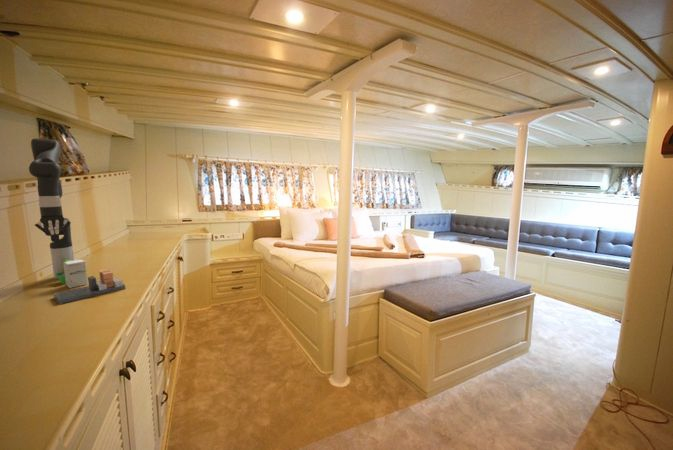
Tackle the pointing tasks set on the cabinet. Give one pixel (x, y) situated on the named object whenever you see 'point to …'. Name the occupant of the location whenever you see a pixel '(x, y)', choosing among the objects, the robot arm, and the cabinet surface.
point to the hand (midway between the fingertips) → (55, 242)
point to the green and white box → (62, 275)
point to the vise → (86, 292)
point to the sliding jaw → (96, 284)
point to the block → (107, 277)
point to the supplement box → (75, 273)
